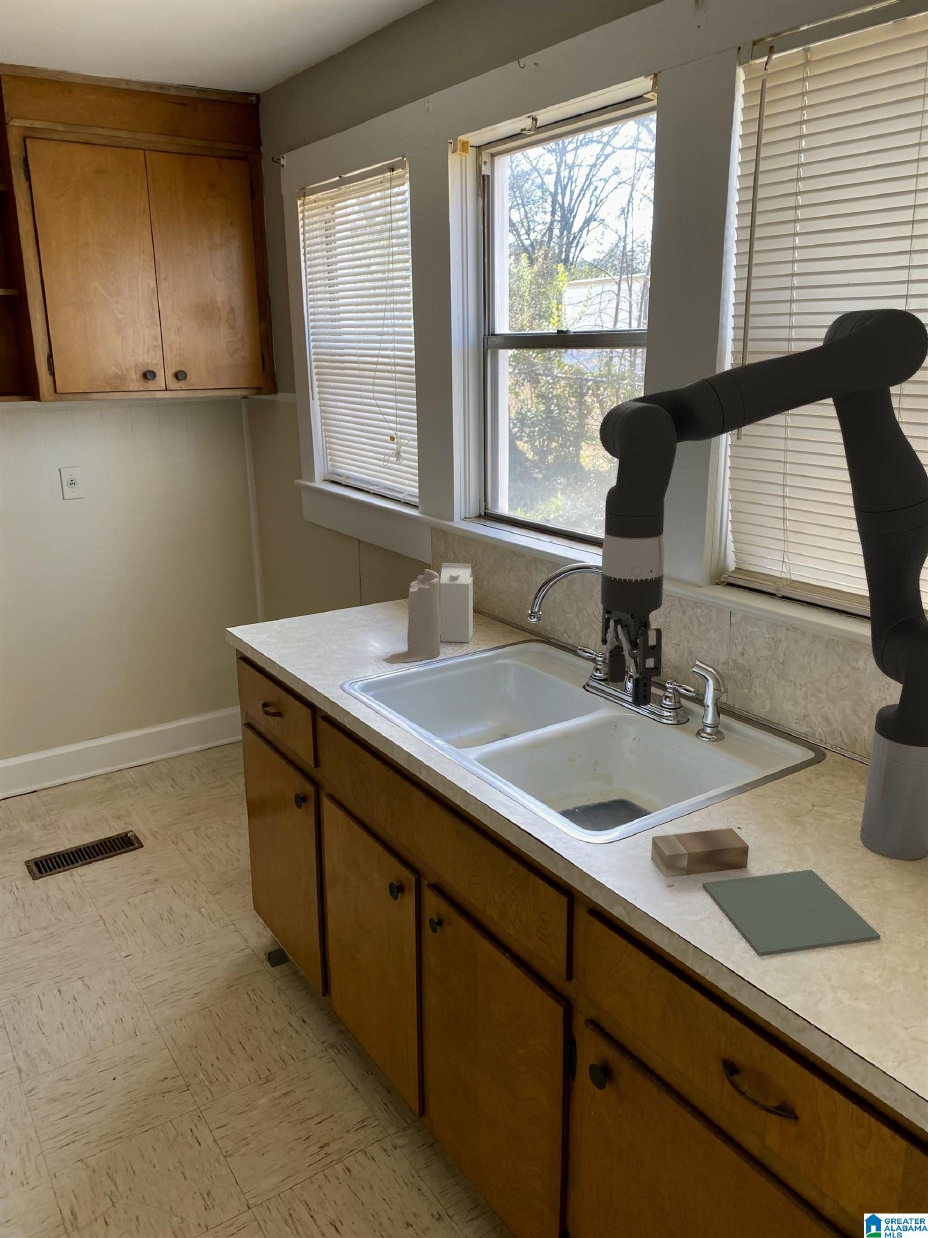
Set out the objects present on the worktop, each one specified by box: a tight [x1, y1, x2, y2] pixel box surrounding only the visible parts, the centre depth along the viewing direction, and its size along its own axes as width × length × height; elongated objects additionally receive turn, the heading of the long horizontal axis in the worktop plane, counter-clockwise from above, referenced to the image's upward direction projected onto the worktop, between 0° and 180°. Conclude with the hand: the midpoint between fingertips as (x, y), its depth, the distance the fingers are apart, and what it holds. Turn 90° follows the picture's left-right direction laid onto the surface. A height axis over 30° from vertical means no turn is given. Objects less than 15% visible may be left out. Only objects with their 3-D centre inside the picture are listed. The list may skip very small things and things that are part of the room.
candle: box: [382, 568, 441, 664], centre depth 211 cm, size 7×14×20 cm, turn 121°
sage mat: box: [702, 869, 881, 957], centre depth 117 cm, size 16×15×1 cm
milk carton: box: [439, 562, 474, 643], centre depth 225 cm, size 7×7×19 cm
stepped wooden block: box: [650, 827, 750, 879], centre depth 127 cm, size 12×5×4 cm, turn 102°
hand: (628, 692), depth 117 cm, fingers open, 8 cm apart
